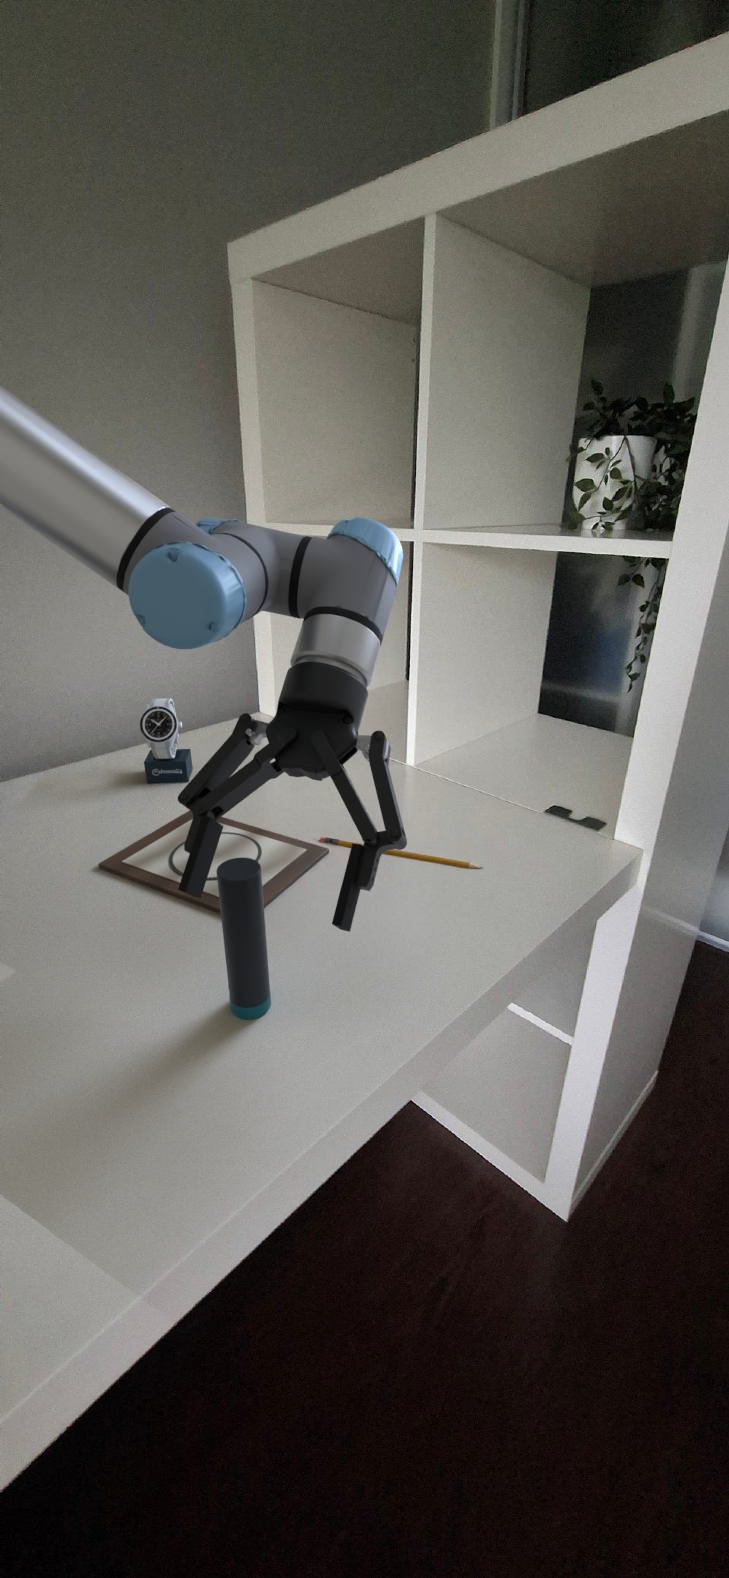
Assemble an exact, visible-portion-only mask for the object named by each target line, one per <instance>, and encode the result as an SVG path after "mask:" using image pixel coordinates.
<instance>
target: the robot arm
mask: <svg viewBox="0 0 729 1578" xmlns="http://www.w3.org/2000/svg"><path fill="white" fill-rule="evenodd" d="M0 508H1V509H2V510H3V511H5V512H6V513H8V514H10V515H11V516H12V517H14V518H15V519H17V520H18V521H20V522H21V523H22V524H23V525H25V526H27V527H29V528H30V529H31V530H32V531H34V532H36V533H37V534H39V535H40V536H41V537H43V538H44V539H46V540H47V541H48V542H50V543H51V544H53V545H55V546H56V547H58V548H59V549H60V550H62V551H63V552H65V553H67V554H68V555H69V556H70V557H72V558H74V560H75V561H78V562H79V563H81V564H82V565H84V566H85V567H86V568H88V569H90V571H92V572H94V573H95V574H97V575H98V576H99V577H101V578H102V579H104V580H105V581H107V582H108V583H110V584H111V585H113V586H114V587H116V588H117V589H118V590H120V591H121V592H123V593H124V594H125V595H126V596H128V600H129V605H130V608H131V612H132V613H133V615H134V617H135V618H136V620H137V622H138V623H139V625H140V626H141V628H142V630H143V631H144V632H145V633H146V634H147V635H148V636H149V637H150V638H151V639H152V640H154V641H156V642H157V643H159V644H161V645H163V646H165V647H168V648H171V649H175V650H194V649H198V648H201V647H204V646H206V645H209V644H211V643H215V642H218V641H221V640H223V639H224V638H227V637H228V636H230V635H231V633H232V632H233V631H234V630H236V629H237V628H238V627H239V626H240V625H241V624H243V623H244V622H247V621H249V620H251V619H252V618H254V617H255V616H256V615H258V614H259V613H261V612H267V613H272V614H277V615H282V616H286V617H290V618H295V619H300V620H301V619H303V620H302V623H301V626H300V631H299V633H298V637H297V640H296V642H295V645H294V648H293V650H292V651H293V652H292V654H291V656H290V657H291V658H290V659H289V661H290V667H289V668H288V669H287V672H286V675H285V677H284V681H283V684H282V687H281V690H280V693H279V697H278V700H277V705H276V706H277V707H276V714H275V715H274V716H273V718H272V719H271V720H270V722H266V721H261V720H257V719H255V718H253V717H252V716H251V714H250V713H248V712H245V713H242V714H241V715H239V717H238V719H237V721H236V724H235V725H234V729H233V731H232V732H231V734H230V735H229V736H228V738H227V739H226V740H225V741H224V742H223V743H222V744H221V746H220V747H219V748H218V749H217V751H216V752H215V753H213V755H212V756H211V757H210V758H209V759H208V760H207V762H206V763H205V764H204V765H203V767H202V768H200V770H199V771H197V773H196V774H195V775H194V776H193V778H191V780H189V781H188V784H187V785H186V786H185V787H184V788H183V789H182V790H181V791H180V792H179V794H178V796H177V802H178V803H179V804H181V805H182V806H183V807H185V808H186V809H187V810H188V811H190V810H191V811H192V813H193V820H192V823H191V826H190V829H189V832H188V835H187V839H186V841H185V844H184V851H186V852H188V853H190V855H189V858H188V861H187V864H186V867H185V870H184V873H183V876H182V879H181V882H180V885H179V888H178V890H180V891H182V892H184V893H186V894H189V895H191V896H193V897H198V898H201V896H202V893H203V889H204V886H205V883H206V880H207V877H208V874H209V871H210V867H211V864H212V861H213V858H214V855H215V852H216V848H217V845H218V842H219V839H220V836H221V833H222V830H223V826H222V825H221V824H219V823H218V822H217V820H218V819H219V818H220V817H223V816H224V815H226V814H227V813H228V812H230V811H231V810H233V808H234V807H236V806H237V805H238V804H240V803H242V801H244V800H245V799H247V797H249V796H251V794H253V793H254V792H256V791H257V790H258V789H260V788H261V787H262V786H263V785H265V784H266V783H267V782H268V781H270V780H275V779H277V778H279V777H280V776H281V775H282V774H283V773H285V774H287V775H288V777H292V778H293V777H294V778H303V777H306V778H309V779H311V780H313V781H319V782H323V780H325V779H327V778H329V777H330V779H331V780H332V782H333V784H334V786H335V788H336V790H337V793H338V794H339V796H340V798H341V801H342V802H343V804H344V805H345V808H346V810H347V811H348V813H349V815H350V818H351V820H352V821H353V823H354V825H355V827H356V829H357V832H358V833H359V835H360V837H361V840H362V842H363V844H364V845H363V846H362V845H361V844H362V843H359V844H355V843H356V842H353V843H352V847H350V852H349V856H348V859H347V863H346V866H345V871H344V874H343V878H342V883H341V886H340V889H339V890H340V891H339V894H338V899H337V902H336V906H335V910H334V913H333V918H332V921H331V925H333V926H334V927H335V928H338V929H339V930H340V931H345V932H351V928H352V925H353V921H354V917H355V912H356V909H357V905H358V901H359V896H360V893H361V890H363V891H367V892H371V890H372V888H373V887H374V885H375V881H376V877H377V872H378V869H379V864H380V860H381V857H382V854H384V853H383V852H385V851H387V850H392V849H394V850H399V851H403V850H404V849H405V848H406V847H407V845H408V840H407V836H406V832H405V831H406V830H405V827H404V823H403V819H402V815H401V812H400V807H399V802H398V800H397V796H396V791H395V787H394V783H393V779H392V776H391V771H390V767H389V765H390V757H391V749H392V748H391V745H390V742H389V740H388V738H387V736H386V734H385V733H384V731H383V730H375V731H373V732H372V734H371V735H361V734H359V729H360V727H361V723H362V720H363V716H364V712H365V709H366V704H367V701H368V697H369V691H368V689H370V687H371V686H372V682H373V677H374V674H375V670H376V667H377V663H378V659H379V655H380V652H381V649H382V643H383V640H384V637H385V634H386V633H385V632H386V629H387V627H388V624H389V623H388V622H389V619H390V616H391V612H392V609H393V605H394V601H395V598H396V595H397V593H398V585H399V579H400V575H401V570H402V566H403V560H404V552H403V547H402V543H401V541H400V539H399V537H398V536H397V535H396V533H394V532H393V531H392V529H390V528H389V527H388V526H387V525H385V524H383V523H381V522H380V521H378V520H375V519H371V518H369V517H364V516H363V517H362V516H356V517H354V518H352V519H350V518H344V519H341V520H339V521H338V522H337V523H335V524H334V525H333V527H332V528H331V530H330V532H329V533H328V535H327V536H326V538H323V537H318V536H308V535H306V536H305V535H301V534H297V533H293V532H292V533H291V532H287V531H283V530H278V529H274V528H269V527H265V526H261V525H255V524H251V523H247V522H243V520H241V519H236V518H232V519H224V518H220V517H219V518H218V517H212V516H206V517H202V518H201V519H199V520H198V521H197V522H196V523H193V522H192V521H190V520H189V519H187V518H186V517H185V516H183V515H182V514H180V513H179V512H177V511H176V510H175V509H173V508H172V507H171V506H170V505H169V504H167V503H166V502H164V501H163V500H162V499H161V498H159V497H157V496H156V495H155V494H153V493H151V492H150V491H149V490H148V489H147V488H145V487H143V486H142V485H140V484H139V483H137V482H136V481H135V480H133V479H132V478H131V477H129V476H128V475H127V474H125V473H124V472H122V471H121V470H120V469H118V468H117V467H115V465H113V464H111V463H110V462H109V461H107V460H106V459H104V458H103V457H102V456H101V455H98V454H97V453H96V452H95V451H93V450H91V449H90V448H89V447H88V446H86V445H84V444H83V443H82V442H81V441H79V440H78V439H76V438H75V437H73V436H72V435H71V434H69V433H68V432H66V431H65V430H63V429H62V428H61V427H59V426H58V425H56V424H55V423H54V422H52V421H51V420H49V419H48V418H46V416H45V415H42V414H41V413H39V412H38V411H37V410H36V409H34V407H31V405H29V404H27V403H26V402H25V401H23V400H22V399H20V398H19V397H17V396H16V395H15V394H13V393H12V392H11V391H9V390H8V389H7V388H5V387H3V386H2V385H0ZM264 739H267V742H268V743H267V744H266V745H265V746H263V747H262V748H260V750H258V751H257V752H256V753H255V754H254V756H253V758H252V759H251V760H250V761H249V762H248V763H246V764H245V765H244V766H242V767H241V768H239V767H240V766H241V765H242V763H244V761H245V760H246V759H247V758H248V757H249V756H250V754H251V753H252V751H253V750H254V748H255V746H259V745H261V744H262V740H264ZM358 751H361V752H362V753H361V754H362V756H363V757H364V759H365V760H366V761H367V762H369V767H370V771H371V775H372V779H373V784H374V788H375V792H376V797H377V801H378V805H379V809H380V813H381V817H382V821H383V826H384V830H381V831H378V830H377V827H376V826H375V823H374V822H373V820H372V818H371V816H370V814H369V812H368V811H367V808H366V807H365V804H364V803H363V801H362V799H361V798H360V795H359V792H358V791H357V789H356V788H355V785H354V783H353V782H352V779H351V777H350V775H349V773H348V771H347V770H346V768H345V766H344V765H345V764H346V763H347V762H348V761H349V760H350V759H352V757H354V756H355V755H356V754H357V753H358ZM273 760H274V761H273ZM271 761H272V762H271ZM238 768H239V770H237V769H238ZM236 770H237V771H236Z"/></svg>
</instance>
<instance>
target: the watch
mask: <svg viewBox="0 0 729 1578" xmlns="http://www.w3.org/2000/svg"><path fill="white" fill-rule="evenodd" d="M175 707H176V706H175V703H174V700H173V698H171V697H169V698H167V697H166V698H163V697H162V698H152V700H151V701H150V702H149V703H147V705H146V707H145V710H144V711H143V713H141V714H142V715H140V719H139V730H140V733H141V735H142V736H143V737H144V740H145V742H146V745H147V748H150V749H149V752H148V753H147V755H146V757H145V759H144V761H143V767H144V772H145V779H146V780H145V781H146V784H168V783H169V784H170V783H171V784H172V783H189V782H190V778H191V775H192V772H193V769H194V767H193V760H192V752H191V751H192V750H191V748H177V747H178V746H177V745H179V738H180V734H179V729H181V728H183V722H182V721H179V720H178V719H179V718H178V716H177V714H176V708H175Z"/></svg>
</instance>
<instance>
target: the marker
mask: <svg viewBox="0 0 729 1578" xmlns="http://www.w3.org/2000/svg"><path fill="white" fill-rule="evenodd" d="M217 881H218V891H219V900H220V910H221V913H220V918H221V927H222V936H223V937H222V938H223V947H224V953H225V954H224V955H225V964H226V965H225V966H226V975H227V985H228V993H229V1004H230V1005H229V1006H230V1011H231V1012H232V1014H233V1015H234V1016H235V1017H237V1018H239V1019H242V1020H254V1019H257V1018H261V1017H262V1016H263V1015H265V1014H266V1013H267V1012H268V1011H269V1010H270V1008H271V1005H272V998H271V997H272V995H271V987H270V971H269V959H268V958H269V957H268V946H267V945H268V943H267V931H266V919H265V918H266V917H265V908H264V902H263V888H262V874H261V866H260V864H259V863H258V862H257V861H256V860H254V859H251V858H233V859H229V860H227V861H225V862H223V863H221V864H220V865H219V866H218V868H217Z"/></svg>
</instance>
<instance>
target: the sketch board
mask: <svg viewBox="0 0 729 1578" xmlns="http://www.w3.org/2000/svg"><path fill="white" fill-rule="evenodd" d="M192 820H193V813H192V811H191V810H188V811H186V812H184V813H183V814H181V815H179V816H178V817H176V818H174V819H172V820H171V821H169V822H168V823H166V824H164V825H162V826H160V827H159V828H156V829H155V830H154V831H151V832H150V833H148V834H147V835H145V836H143V837H142V838H140V839H138V840H136V841H134V842H133V843H131V844H129V845H128V846H127V847H124V848H123V849H121V850H119V851H117V852H116V853H114V854H113V855H111V856H108V857H107V858H106V859H104V860H102V861H100V862H99V863H98V864H97V865H98V866H97V867H98V868H99V869H101V870H104V871H107V872H110V873H112V874H115V875H117V876H121V877H123V878H126V879H127V880H131V881H134V882H136V883H138V884H142V885H144V886H147V887H150V888H152V889H153V890H157V891H160V892H163V893H165V894H168V895H170V896H173V897H176V898H177V899H181V900H183V901H187V902H189V903H191V904H194V905H197V906H200V907H203V908H205V909H208V910H210V911H212V912H215V913H218V914H221V910H220V900H219V891H218V881H217V868H218V866H219V865H220V864H221V863H223V862H225V861H227V860H229V859H233V858H251V859H254V860H256V861H257V862H258V863H259V864H260V866H261V874H262V888H263V902H264V909H265V908H266V907H268V905H269V904H270V903H272V902H274V900H275V899H276V898H278V897H279V896H280V895H282V894H283V892H285V891H286V890H287V889H289V887H291V886H292V885H293V884H294V883H296V882H297V880H299V879H300V878H301V877H302V876H303V875H304V874H306V873H307V872H308V871H310V870H311V869H312V868H313V867H314V866H315V865H316V864H317V863H318V862H320V861H321V860H322V859H324V858H325V857H326V856H327V855H328V854H330V848H328V847H323V846H320V845H318V844H314V843H311V842H308V841H305V840H301V839H298V838H294V837H291V836H287V835H284V834H280V833H278V832H275V831H271V830H267V829H264V828H261V827H257V826H254V825H250V824H247V823H243V822H240V821H238V820H234V819H230V818H228V817H223V816H222V817H220V818H219V819H218V820H217V822H218V823H219V824H221V825H222V826H223V830H222V833H221V836H220V839H219V842H218V845H217V848H216V852H215V855H214V858H213V861H212V864H211V867H210V871H209V874H208V877H207V880H206V883H205V886H204V889H203V893H202V896H201V898H198V897H193V896H191V895H189V894H186V893H184V892H182V891H180V890H178V888H179V885H180V882H181V879H182V876H183V873H184V870H185V867H186V864H187V861H188V858H189V855H190V853H188V852H186V851H184V844H185V841H186V839H187V835H188V832H189V829H190V826H191V823H192Z"/></svg>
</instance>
